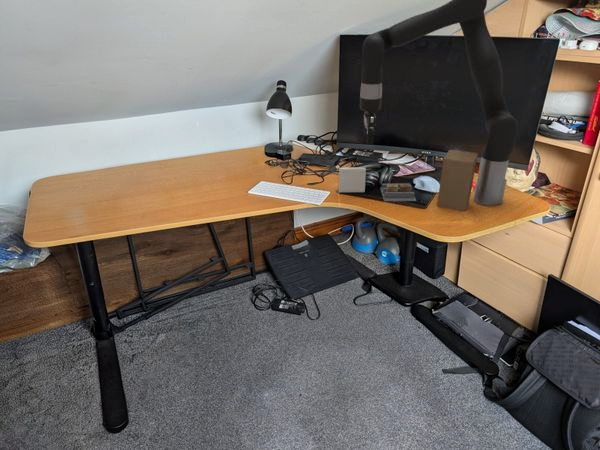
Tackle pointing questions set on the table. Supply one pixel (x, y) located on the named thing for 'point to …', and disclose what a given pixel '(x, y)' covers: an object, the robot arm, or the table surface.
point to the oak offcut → (392, 188)
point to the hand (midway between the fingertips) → (368, 140)
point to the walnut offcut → (405, 188)
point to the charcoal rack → (397, 194)
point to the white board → (352, 179)
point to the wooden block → (457, 180)
